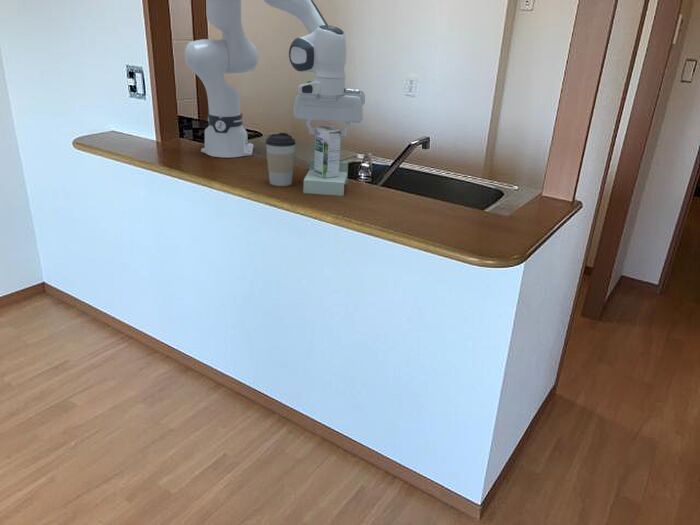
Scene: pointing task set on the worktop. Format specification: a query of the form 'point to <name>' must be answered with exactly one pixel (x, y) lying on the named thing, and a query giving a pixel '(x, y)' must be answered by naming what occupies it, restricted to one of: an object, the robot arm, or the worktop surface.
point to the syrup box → (327, 151)
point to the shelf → (326, 181)
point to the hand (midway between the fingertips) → (327, 135)
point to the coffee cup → (280, 158)
